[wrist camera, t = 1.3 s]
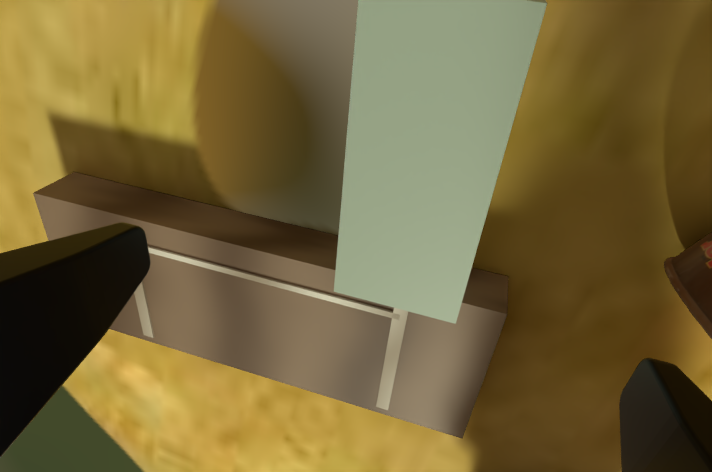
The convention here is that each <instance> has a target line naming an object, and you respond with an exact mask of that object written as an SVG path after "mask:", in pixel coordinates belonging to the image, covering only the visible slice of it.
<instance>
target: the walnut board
mask: <svg viewBox="0 0 712 472" xmlns="http://www.w3.org/2000/svg"><path fill="white" fill-rule="evenodd" d="M33 194H34V197H35V200H36V203H37V207H38V210H39V213H40V216H41V219H42V222H43V225H44V228H45V231H46V234H47V237H48V240H49V241H50V240H54V239H58V238H62V237H65V236H69V235H73V234H77V233H81V232H85V231H89V230H92V229H96V228H100V227H104V226H108V225H112V224H116V223H120V222H124V223H129V224H133V225H136V226H140V227H141V228H143V230H144V231H145V234H146V239H147V244H148V250H149V255H150V261H151V262H150V268H149V271H148V273H147V275H146V276H145V278H144V279H143V281H142V282H141V284H140V285H139V286H138V288H137V289H136V291H135V292H134V294H133V295H132V296H131V298H130V299H129V301H128V302H127V304H126V305H125V307H124V308H123V309H122V311H121V312H120V314H119V315H118V317H117V318H116V320H115V321H114V322H113V324H112V325H111V327H110V328H109V329H112V330H115V331H118V332H121V333H124V334H128V335H131V336H134V337H137V338H140V339H144V340H147V341H150V342H153V343H157V344H160V345H163V346H166V347H169V348H173V349H176V350H179V351H182V352H186V353H189V354H192V355H195V356H198V357H202V358H205V359H208V360H211V361H214V362H218V363H221V364H224V365H227V366H231V367H234V368H237V369H240V370H243V371H247V372H250V373H253V374H256V375H260V376H263V377H266V378H269V379H272V380H276V381H279V382H282V383H285V384H289V385H292V386H295V387H298V388H301V389H305V390H308V391H311V392H314V393H317V394H321V395H324V396H327V397H330V398H334V399H337V400H340V401H343V402H346V403H350V404H353V405H356V406H359V407H363V408H366V409H369V410H372V411H375V412H379V413H382V414H385V415H388V416H391V417H395V418H398V419H401V420H404V421H408V422H411V423H414V424H417V425H420V426H424V427H427V428H430V429H433V430H437V431H440V432H443V433H446V434H449V435H453V436H456V437H459V438H463V435H464V432H465V430H466V427H467V424H468V421H469V419H470V416H471V413H472V410H473V408H474V405H475V402H476V399H477V397H478V394H479V391H480V388H481V386H482V383H483V380H484V377H485V375H486V372H487V369H488V366H489V364H490V361H491V358H492V355H493V353H494V350H495V347H496V344H497V342H498V339H499V336H500V333H501V330H502V328H503V325H504V322H505V319H506V317H507V310H508V276H504V275H500V274H496V273H492V272H487V271H483V270H479V269H475V268H471V272H470V275H469V279H468V282H467V286H466V289H465V293H464V296H463V300H462V303H461V307H460V310H459V314H458V317H457V321H456V324H454V323H450V322H447V321H443V320H439V319H435V318H431V317H428V316H424V315H420V314H416V313H413V312H409V311H405V310H401V309H398V308H394V307H390V306H386V305H382V304H379V303H375V302H371V301H367V300H364V299H360V298H356V297H352V296H349V295H345V294H341V293H337V292H334V282H335V271H336V259H337V247H338V235H334V234H329V233H325V232H321V231H317V230H313V229H309V228H304V227H300V226H296V225H292V224H288V223H284V222H279V221H275V220H271V219H267V218H263V217H259V216H255V215H250V214H246V213H242V212H238V211H234V210H230V209H225V208H221V207H217V206H213V205H209V204H205V203H200V202H196V201H192V200H188V199H184V198H180V197H176V196H171V195H167V194H163V193H159V192H155V191H151V190H146V189H142V188H138V187H134V186H130V185H126V184H121V183H117V182H113V181H109V180H105V179H101V178H97V177H92V176H88V175H84V174H80V173H76V172H73V173H72V174H70V175H68V176H66V177H64V178H62V179H60V180H58V181H56V182H54V183H52V184H50V185H48V186H46V187H44V188H42V189H40V190H38V191H36V192H34V193H33Z"/></svg>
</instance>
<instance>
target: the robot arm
mask: <svg viewBox="0 0 712 472" xmlns="http://www.w3.org/2000/svg"><path fill="white" fill-rule="evenodd" d="M150 262H151V261H150V255H149V250H148V244H147V239H146V234H145V231H144V230H143V228H141V227H140V226H136V225H133V224H129V223H124V222H120V223H116V224H112V225H108V226H104V227H100V228H96V229H92V230H89V231H85V232H81V233H77V234H73V235H69V236H65V237H62V238H58V239H54V240H50V241H46V242H42V243H39V244H35V245H31V246H27V247H23V248H19V249H15V250H12V251H8V252H4V253H0V458H1V456H2V455H3V454H4V453H5V452H6V450H7V449H8V448H9V447H10V446H11V445H12V443H13V442H14V441H15V440H16V439H17V438H18V436H19V435H20V434H21V433H22V432H23V430H24V429H25V428H26V427H27V425H29V423H30V422H31V421H32V420H33V419H34V418H35V416H36V415H37V414H38V413H39V412H40V410H41V409H42V408H43V407H44V406H45V405H46V403H47V402H48V401H49V400H50V399H51V398H52V396H53V395H54V394H55V393H56V392H57V390H58V389H59V388H60V387H61V386H62V385H63V384H64V382H65V381H66V380H67V379H68V378H69V376H70V375H71V374H72V373H73V372H74V371H75V369H76V368H77V367H78V366H79V365H80V364H81V362H82V361H83V360H84V359H85V358H86V356H87V355H88V354H89V353H90V352H91V351H92V349H93V348H94V347H95V346H96V345H97V343H98V342H99V341H100V340H101V339H102V337H103V336H104V335H105V333H106V332H107V331H108V329H109V328H110V327H111V325H112V324H113V322H114V321H115V320H116V318H117V317H118V315H119V314H120V312H121V311H122V309H123V308H124V307H125V305H126V304H127V302H128V301H129V299H130V298H131V296H132V295H133V294H134V292H135V291H136V289H137V288H138V286H139V285H140V284H141V282H142V281H143V279H144V278H145V276H146V275H147V273H148V271H149V268H150ZM620 435H621V464H622V472H712V401H711V400H710V399H709V398H708V397H707V396H706V395H705V394H704V393H703V392H702V391H701V390H700V389H699V388H698V387H697V386H696V385H695V384H694V383H693V382H692V381H691V380H690V379H689V378H688V377H687V376H686V375H685V374H684V373H683V372H682V371H681V370H680V369H679V368H678V367H677V366H676V365H674V364H671V363H668V362H664V361H660V360H656V359H652V358H646V359H643V360H642V361H641V362H640V363H639V365H638V366H637V368H636V370H635V371H634V373H633V375H632V376H631V378H630V379H629V381H628V383H627V384H626V386H625V388H624V389H623V391H622V394H621V397H620Z"/></svg>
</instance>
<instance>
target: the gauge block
mask: <svg viewBox="0 0 712 472" xmlns="http://www.w3.org/2000/svg"><path fill="white" fill-rule="evenodd" d="M546 5H547V2H546V0H358V11H357V22H356V34H355V46H354V58H353V70H352V82H351V93H350V94H351V95H350V106H349V117H348V129H347V141H346V153H345V165H344V176H343V188H342V200H341V212H340V223H339V235H338V247H337V259H336V271H335V282H334V292H337V293H341V294H345V295H349V296H352V297H356V298H360V299H364V300H367V301H371V302H375V303H379V304H382V305H386V306H390V307H394V308H398V309H401V310H405V311H409V312H413V313H416V314H420V315H424V316H428V317H431V318H435V319H439V320H443V321H447V322H450V323H454V324H456V321H457V317H458V314H459V310H460V307H461V303H462V300H463V296H464V293H465V289H466V286H467V282H468V279H469V275H470V272H471V268H472V265H473V261H474V258H475V254H476V251H477V247H478V244H479V240H480V237H481V233H482V230H483V226H484V223H485V219H486V216H487V212H488V209H489V205H490V202H491V198H492V195H493V191H494V188H495V184H496V181H497V177H498V174H499V170H500V167H501V163H502V160H503V156H504V153H505V149H506V146H507V142H508V139H509V135H510V132H511V128H512V125H513V121H514V118H515V114H516V111H517V107H518V104H519V100H520V97H521V93H522V90H523V86H524V83H525V79H526V76H527V72H528V69H529V65H530V62H531V58H532V55H533V51H534V48H535V44H536V41H537V37H538V34H539V30H540V27H541V23H542V19H543V16H544V12H545V9H546Z"/></svg>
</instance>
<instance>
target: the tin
mask: <svg viewBox="0 0 712 472" xmlns="http://www.w3.org/2000/svg"><path fill="white" fill-rule="evenodd" d="M664 268H665V272H666V274H667V276H668V278H669V280H670V283H671V284H672V286H673V288H674V289H675V291H676V292H677V293H678V295H679V297H680V298H681V299H682V301H683V302H684V304H685V305H686V306H687V308H688V309H689V311H690V312H691V314H692V315H693V316H694V317H695V319H696V320H697V321H698V322H699V324H700V325H701V326H702V327H703V329H704V330H705V331H706V333H707V334H708V335H709V336H710V338H711V339H712V232H711V233H710V234H708V235H707V236H705V237H704V238H702V239H701V240H699V241H698V242H697V243H695V244H694V245H692V246H691V247H689V248H688V249H686V250H685V251H683V252H682V253H681V254H679V255H677V256H676V257H670V258H667V259H666V260H665V262H664Z"/></svg>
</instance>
